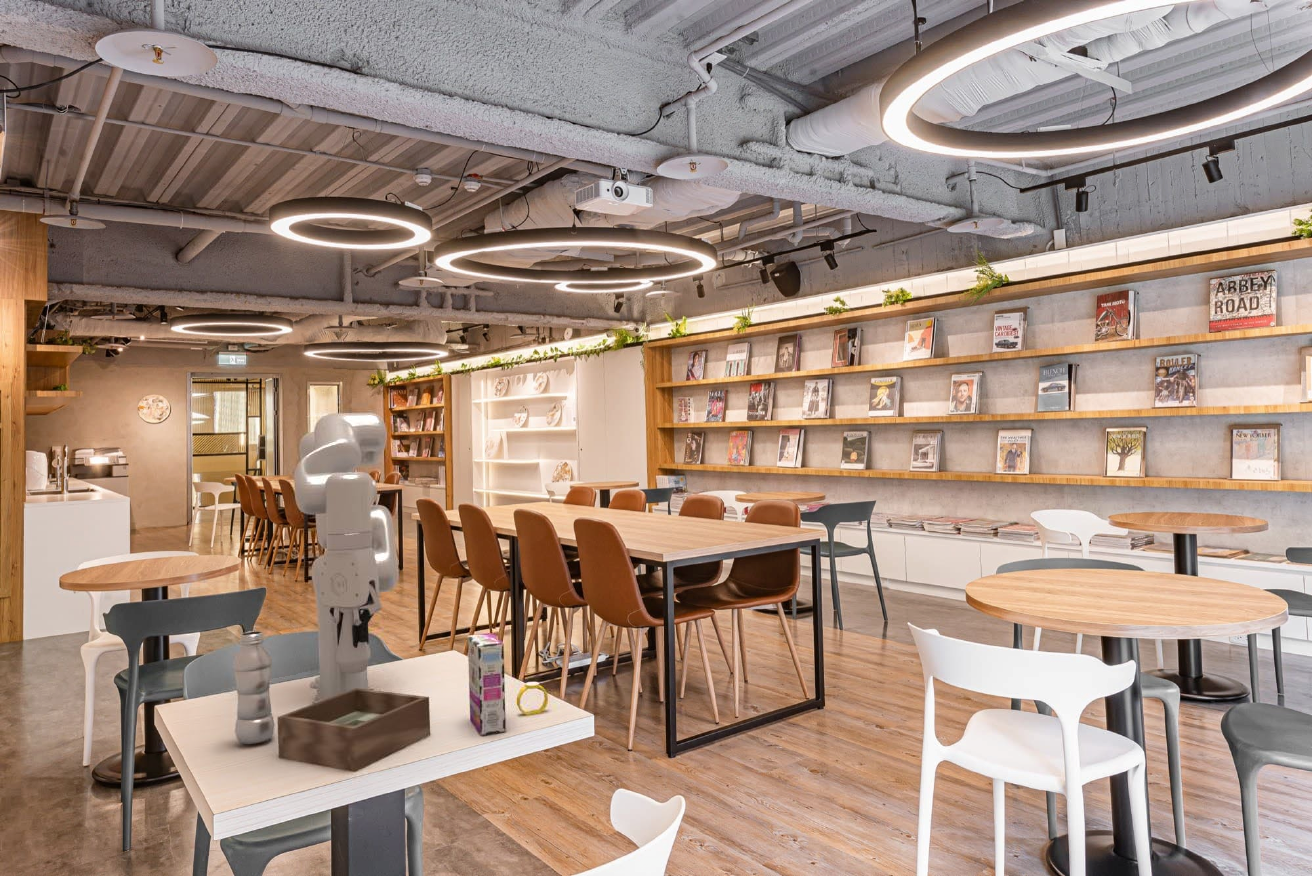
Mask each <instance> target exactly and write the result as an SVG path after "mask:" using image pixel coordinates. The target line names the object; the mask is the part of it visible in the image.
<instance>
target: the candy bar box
mask: <svg viewBox="0 0 1312 876" xmlns="http://www.w3.org/2000/svg"><path fill="white" fill-rule="evenodd" d="M504 645H505V644H504V643H503V642H502V641H501V640H499V638H497V636H496V635H494V634H493V633H491V632H490V633H489V632H487V633H479V634H478V633H477V634H470V635H467V646H468V652H467V653H468V654H467V655H468V656H467V657H468V688H469V689H468V691H469V693H468V694H469V695H468V696H469V720H470V721H471V722H472V724H473V726H474V727H475V728H476V730H477V731H478V733H479V735H480V736H488V735H494V734H500V733H505V732H506V731H507V725H506V723H507V721H506V694H505V693H506V691H505V690H506V689H505V686H506V685H505V683H506V682H505V655H504V654H505V649H504Z"/></svg>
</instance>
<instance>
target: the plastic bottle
mask: <svg viewBox="0 0 1312 876" xmlns="http://www.w3.org/2000/svg"><path fill="white" fill-rule="evenodd" d="M239 643H240V644H239V645H240V646H241V648H240V649H239V651H238V653H237V654H236V655H235V658H234V659H233V663H232V669H233V674H234V678H235V684H236V685H235V686H236V693H237V710H236V711H237V712H236V720H235V727H234V733H235V738H236V741H238V743H240V744H243V745H255V744H260V743H263V742H266V741H268V740H270V739H271V738H272V736H273V735H274V731H275V721H274V716H273V715H274V714H273V713H272V705H271V699H270V698H271V697H270V688H271V687H270V680H271V672H272V671H271V669H272V657H271V655H270V653H269V651H268V650H267V649H266V648H265V647H264V646H263V644H262V643H264V639H263V631H262V630H261V631H260V630H255V631H254V630H252V631H247V632H243V633H242V632H241V634H240V642H239Z"/></svg>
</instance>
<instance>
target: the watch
mask: <svg viewBox="0 0 1312 876" xmlns="http://www.w3.org/2000/svg"><path fill="white" fill-rule="evenodd" d="M534 689H540V690H541V691H542V692H543V697H544V699H543V702H542V705H541V706H540V707H539V708H538V709H537V710H530V711H525V710H523V708H522V706H521V698H522V696H523V693H525V692H526V691H527V690H534ZM548 702H549V697H548V692H547V691H546V689H545V688H544V687H543V686H542V685H540V682H538V681H528V682H525V684H524V686H523V687H522V688H520V690H519V692H518V694H517V697H516V705H517V707H518V709H519V711H520V712H521V713H522V714H524V715H525V716H529V715H530V716H531V715H535V714H542V713H543V711H545V709H546V708H547V705H548Z"/></svg>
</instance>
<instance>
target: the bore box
mask: <svg viewBox="0 0 1312 876" xmlns="http://www.w3.org/2000/svg"><path fill="white" fill-rule="evenodd" d="M430 712H431V711H430V697H429V696H424V695H415V694H406V693H400V692H398V693H397V692H390V691H383V690H376V689H375V690H367V689H359V688H355V689H353V690H350V691H347V692H345V693H342V694H339V695H336V696H334V697H331V698H328V699H325V700H323V701H320V702H317V703H315V704H313V703H312V704H310V705H307V706H305V707H301V708H299V709H296V710H293V711H291V712H287V713H284V714H282V715H279V716H277V740H278V747H277V748H278V758H279V759H286V760H290V761H297V762H301V763H305V764H306V763H308V764H312V765H318V766H323V767H327V768H328V767H330V768H335V769H340V770H346V771H351V772H357V771H359V770H361V769H363V768H366V767H368V766H370V765H372V764H374V763H377V762H378V761H381V760H382V759H385V758H387V757H388V756H391V755H392V754H394V753H397V752H398V751H401V750H402V749H404V748H408V747H409V746H411V745H413V744H415V743H417V742H420V741H421V740H423V739H425V738H428V737H430V736H431V717H430V716H431V715H430V714H431V713H430Z"/></svg>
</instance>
